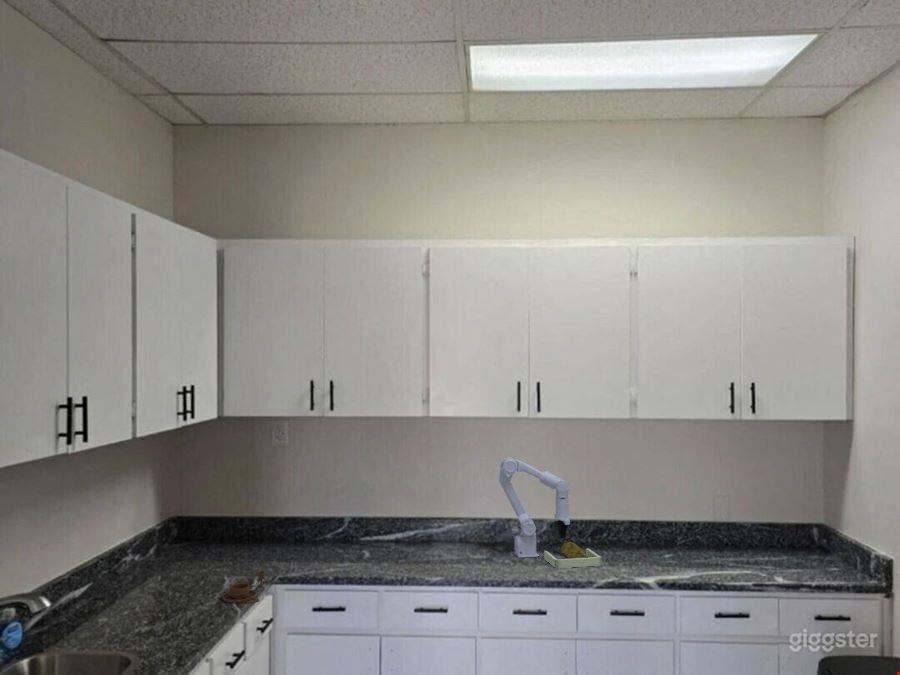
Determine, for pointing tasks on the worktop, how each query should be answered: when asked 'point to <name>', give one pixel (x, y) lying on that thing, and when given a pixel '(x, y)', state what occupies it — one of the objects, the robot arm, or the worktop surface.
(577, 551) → the potato
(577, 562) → the pale green rail frame
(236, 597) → the place setting
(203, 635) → the worktop surface
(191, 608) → the worktop surface
